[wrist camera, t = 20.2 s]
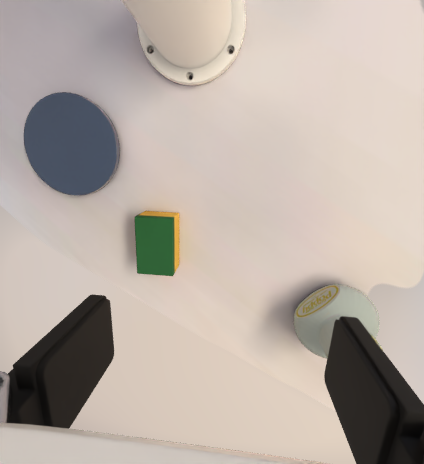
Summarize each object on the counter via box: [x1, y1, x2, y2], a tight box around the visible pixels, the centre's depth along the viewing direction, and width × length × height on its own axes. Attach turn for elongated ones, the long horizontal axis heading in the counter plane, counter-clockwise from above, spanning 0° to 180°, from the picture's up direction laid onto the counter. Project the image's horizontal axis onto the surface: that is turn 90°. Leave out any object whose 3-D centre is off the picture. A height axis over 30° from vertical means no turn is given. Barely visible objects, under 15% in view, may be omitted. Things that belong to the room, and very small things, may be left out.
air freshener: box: [294, 284, 383, 359], centre depth 33 cm, size 11×8×10 cm
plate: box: [24, 92, 120, 195], centre depth 35 cm, size 13×13×2 cm
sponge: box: [135, 211, 179, 276], centre depth 36 cm, size 8×5×4 cm, turn 178°
